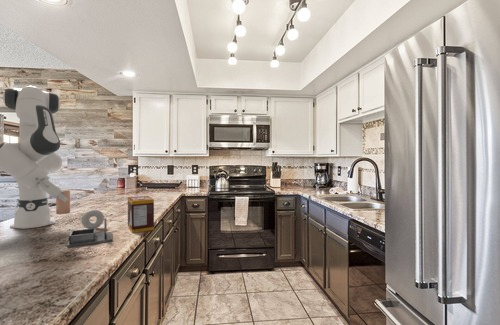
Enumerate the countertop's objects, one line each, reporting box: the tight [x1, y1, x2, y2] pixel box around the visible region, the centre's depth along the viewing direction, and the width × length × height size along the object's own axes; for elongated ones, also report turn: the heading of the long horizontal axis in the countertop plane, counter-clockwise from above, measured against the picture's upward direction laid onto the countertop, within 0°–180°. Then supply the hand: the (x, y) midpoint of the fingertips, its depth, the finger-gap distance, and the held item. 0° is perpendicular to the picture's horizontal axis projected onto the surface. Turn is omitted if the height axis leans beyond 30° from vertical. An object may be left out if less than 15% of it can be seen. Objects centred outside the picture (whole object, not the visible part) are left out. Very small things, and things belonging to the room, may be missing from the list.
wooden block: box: [55, 189, 71, 215], centre depth 110 cm, size 5×5×10 cm
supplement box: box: [127, 195, 155, 234], centre depth 135 cm, size 10×15×16 cm
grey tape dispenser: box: [67, 217, 113, 248], centre depth 115 cm, size 13×16×8 cm
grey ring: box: [81, 209, 105, 229], centre depth 132 cm, size 10×4×10 cm, turn 130°
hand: (65, 199), depth 111 cm, fingers closed on wooden block, 5 cm apart
